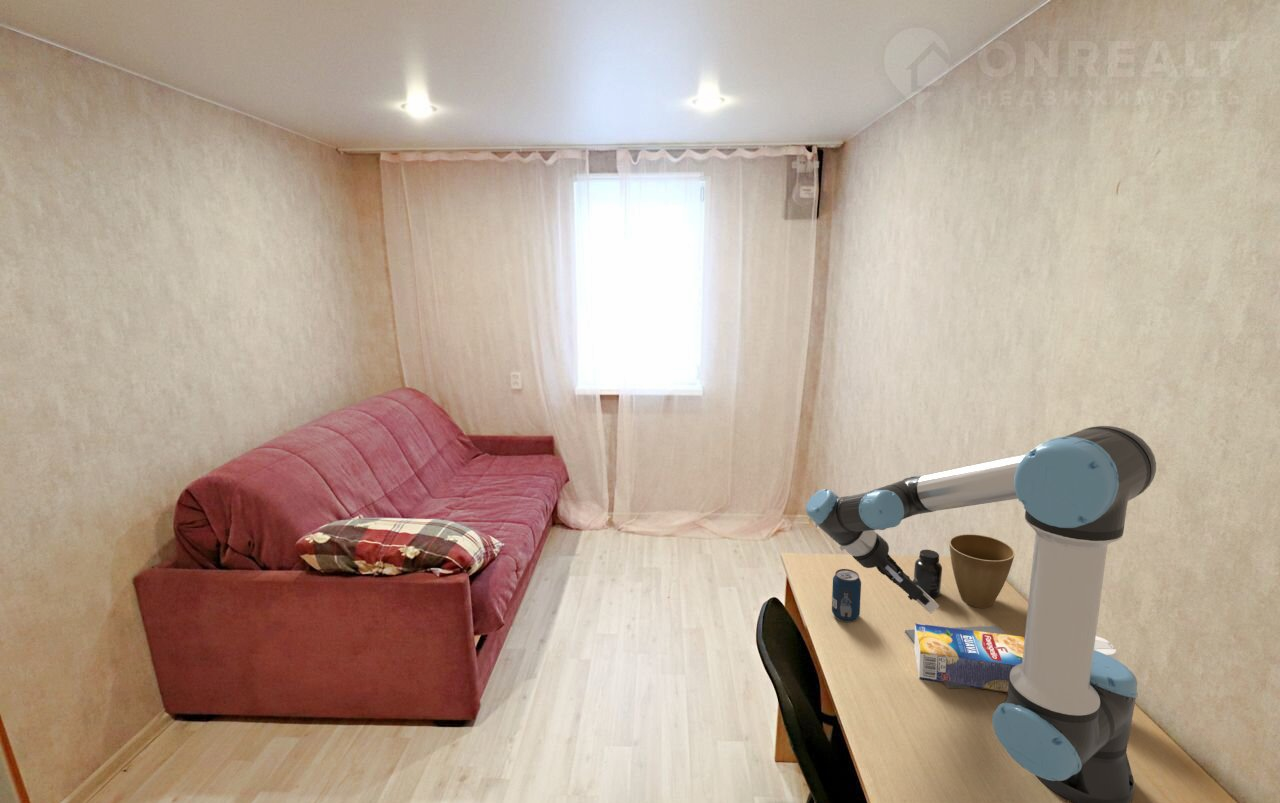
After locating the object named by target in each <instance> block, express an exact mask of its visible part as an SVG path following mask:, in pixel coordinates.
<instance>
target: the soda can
mask: <svg viewBox="0 0 1280 803" xmlns="http://www.w3.org/2000/svg"><path fill="white" fill-rule="evenodd" d="M861 592H862V581H861V579H860V575H859V574H858V572H856V571H855V570H852V569H849V568H841V569H837V570H836V571H835V574H834V575H833V577H832V592H831V597H832V598H831V612H832V614H833V616H834V617H835V618H836V619H837V620H839V621H842V622H845V623H851V622H856V621H857V619H858V618H859V617H860V614H861V596H862V595H861Z"/></svg>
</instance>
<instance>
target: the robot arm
mask: <svg viewBox="0 0 1280 803" xmlns="http://www.w3.org/2000/svg"><path fill="white" fill-rule="evenodd" d="M1156 472H1157V461H1156V457H1155V453H1154V452H1153V451H1152V448H1151V447H1150V445H1148V443H1147V442H1146V441H1145V440H1144V439H1143V438H1142V437H1140V436H1139V435H1137V434H1135V433H1134V432H1132V431H1129V430H1128V429H1125V428H1122V427H1117V426H1112V425H1097V426H1096V425H1095V426H1091V427H1086V428H1084V429H1080V430H1078V431H1076V432H1072V433H1070V434H1067V435H1066V436H1065V435H1064V436H1059V437H1056V438H1051V439H1049V440H1046V441H1044V442H1042V443H1041V444H1039V445H1037V446H1036V447H1035V448H1033V449H1031V450H1030V451H1028V452H1024V453H1019V454H1015V455H1011V456H1006V457H1001V458H997V459H993V460H988V461H984V462H979V463H975V464H970V465H966V466H960V467H956V468H952V469H947V470H942V471H938V472H933V473H928V474H924V475H913V476H910V477H906V478H904V479H901V480H899V481H897V482H894V483H891V484H887V485H885V486H881V487H878V488H875V489H872V490H868V491H866V492H863V493H859V494H854V495H849V496H841V497H840V496H838V495H837V494H836V493H834V492H833V491H832V490H830V489H827V488H823V489H820V490H818V491H816V492H815V493H814V494H813V495H812V496H811V497H810V498H809V500H808V501H807V503H806V506H805V512H806V513H805V514H807V516H808V517H809V518H810V519H811V520H812V521H813V522H814V523H815V525H816V526H817V527H819V528H820V529H821V530H822V531H823V532H824V533H825V534H826V535H828V536H829V537H830V538H831V539H832V540H833V541H834V542H835V543H837V544H838V545H840V547H839V550H840V551H844V550H845V551H846V552H847V553H848V554H849V555H851V556H852V558H853V559H854V560H855V561H856V562H858V563H859V565H861V566H862V567H863V568H865V569H873V568H876V569H877V571H878V572H879V573H880V574H882V575H883V576H886V578H888V579H889V580H890V581H891V582H892V583H894V584H895V585H897V586H898V587H900V589H901V590H902V591H904V592H905V593H906V595H908V596H907V597H908V599H909V600H910V601H912V600H913V601H916V602H917V603H918V604H919V605H920V606H921V607H922V608H923V609H925V610H926V611H927V612H928V613H929V614H930V615H931V614H932V613H934V611H936V610H937V609H938V608H939V607H940V605H939V604H938V603H937V602H936V601H935V600H934V598H931V597H930V596H929V595H928V594H927V593H925V592H924V591H923V590H922V589H921V588H920V587H919V586H918V585H917V586H916V584H917V583H918V581H917V580H916V579H914V578H913V580H912V579H911V578H910V576H909V575H907V574H906V573H905V572H904V570H903V568H901V567H900V565H898V563H897V562H896V561H895V559H893V557H891V555H890V554H889V551H890V547H889V544H888V542H887V541H886V540H885V539H884V538H883V537H882V536H881V535H880V534H878V533H877V532H876V531H884V530H886V529H890V528H891V529H893V528H896V527H897V526H899V525H900V524H901V523H902V521H903V520H904V519H907V518H909V517H912V516H916V515H921V514H928V513H933V512H937V511H945V510H951V509H957V508H965V507H969V506H970V507H971V506H977V505H984V504H991V503H997V502H998V503H999V502H1004V501H1010V500H1011V501H1012V500H1017V499H1018V501H1019V502H1021V503H1022V505H1023V509H1024V510H1025V514H1024V520H1025V523H1027V524H1028V525H1029V526H1030V527H1031V528H1032V529H1033V530H1034V531H1035V535H1034V536H1035V537H1034V545H1033V554H1032V555H1033V556H1032V564H1031V574H1030V586H1029V595H1028V602H1027V603H1028V604H1027V612H1026V624H1025V633H1024V634H1025V635H1024V638H1025V641H1024V651H1023V660H1022V663H1021V664H1018V665H1016V666H1014V667H1013V668H1012V669H1011V672H1010V676H1009V686H1008V693H1007V695H1006V696H1007V697H1006V699H1005V702H1002V703H999V704H998V706H997V707H996V709H995V710H994V713H992V714H993V715H992V717H991V718H992V719H991V720H992V728H993V731H994V734H995V736H996V738H997V740H998V742H999V743H1000V745H1001V746H1002V747H1003V748H1004V749H1005V750H1006V753H1007V754H1008V755H1009V756H1010V757H1011V758H1012V759H1013V760H1014V761H1015V762H1016V763H1017V764H1018V765H1019V766H1021V767H1022V768H1023V769H1024V770H1026V771H1028V772H1029V773H1032V774H1033V775H1035V776H1036V777H1037V778H1038V779H1039V780H1040V781H1041V782H1042V783H1043V784H1044V785H1045V786H1046V787H1047V788H1049V789H1050V790H1051V791H1053V792H1054V793H1056V794H1057V795H1059V796H1061V797H1062V798H1064V799H1065V800H1067V801H1070V802H1072V803H1132V802H1133V798H1134V794H1135V780H1134V776H1133V772H1132V769H1131V768H1132V767H1131V765H1130V761H1129V758H1128V753H1127V750H1128V749H1127V748H1128V744H1129V739H1130V735H1131V734H1130V732H1131V727H1132V721H1133V716H1134V711H1135V703H1136V700H1137V699H1136V698H1138V680H1137V677H1136V676H1135V674H1134V673H1133V672H1132V671H1131V670H1130V669H1129V667H1127V666H1126V665H1125V664H1124V663H1122V662H1120V661H1119V660H1116V659H1114V658H1112V657H1110V656H1108V655H1106V654H1103V653H1101V652H1098V651H1096V650H1094V645H1095V638H1096V636H1097V628H1098V620H1099V614H1100V613H1099V612H1100V605H1101V600H1102V599H1101V598H1102V590H1103V583H1104V574H1105V568H1106V567H1105V566H1106V561H1107V560H1106V559H1107V552H1108V546H1109V545H1111V544H1112V543H1115V542H1117V541H1119V540H1121V539H1122V538H1123V536H1124V530H1125V522H1126V517H1127V509H1128V508H1127V507H1128V504H1129V501H1131V500H1132V499H1135V498H1136V497H1138V496H1140V495H1142V494H1143V493H1144V492H1145V491H1146V490H1147V489H1148V488H1149V487H1150V486H1151V484H1152V482H1153V481H1154V479H1155V476H1156Z"/></svg>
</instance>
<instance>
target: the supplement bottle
mask: <svg viewBox="0 0 1280 803" xmlns="http://www.w3.org/2000/svg"><path fill="white" fill-rule="evenodd" d="M942 576H943V566H942V564H941V563H940V554H939V553H938V552H937V551H935V550H932V549H921V550H920V552H919V557H918V558H917V559H916V560H915V562H914V570H913V580H914V579H916V580H917V581H918V583H917V584H916V586H917V585H918V586H919V587H920V588H921V589H922V590H923V591H924V592H925V593H927V594H928V595H929V596H930V597H931V598H932V599H936V598H938V597H939V596H940V595H941V594H940V593H941V585H942Z"/></svg>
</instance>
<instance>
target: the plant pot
mask: <svg viewBox="0 0 1280 803" xmlns="http://www.w3.org/2000/svg"><path fill="white" fill-rule="evenodd" d="M948 542H949V543H948V544H949V553H950V560H951V566H952V571H953V576H954V581H955V585H956V587H957V590H958V593H959V596H960V598H961V600H962V601H963V602H964V603H966V604H967V605H968V606H971V607H972V606H973V607H975V608H979V609H980V608H981V609H983V608H984V609H986V608H990V607H992V606H993V604H994V602H995V601H996V600H997V598H998V596H999V595H1000V593H1001V592H1002V590H1003V587H1004V585H1005V584H1006V580H1007V579H1008V576H1009V573H1010V571H1011V568H1012V565H1013V562H1014V558H1015V555H1016V552H1015V549H1014V548H1012V546H1011V545H1009V544H1008V543H1006V542H1004V541H1002V540H1000V539H997V538H994V537H992V536H987V535H983V534H982V535H981V534H976V533H975V534H974V533H972V534H971V533H967V534H965V533H964V534H957V535H955V536H953V537H951V538H950V540H949V541H948Z"/></svg>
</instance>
